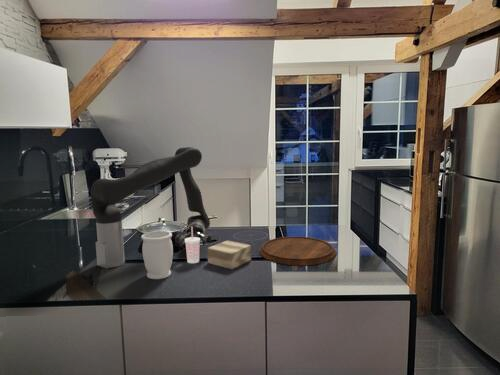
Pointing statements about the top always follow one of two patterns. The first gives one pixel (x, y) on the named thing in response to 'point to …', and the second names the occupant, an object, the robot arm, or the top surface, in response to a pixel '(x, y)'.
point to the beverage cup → (192, 248)
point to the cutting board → (297, 251)
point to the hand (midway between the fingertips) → (192, 243)
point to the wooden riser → (229, 254)
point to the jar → (157, 253)
